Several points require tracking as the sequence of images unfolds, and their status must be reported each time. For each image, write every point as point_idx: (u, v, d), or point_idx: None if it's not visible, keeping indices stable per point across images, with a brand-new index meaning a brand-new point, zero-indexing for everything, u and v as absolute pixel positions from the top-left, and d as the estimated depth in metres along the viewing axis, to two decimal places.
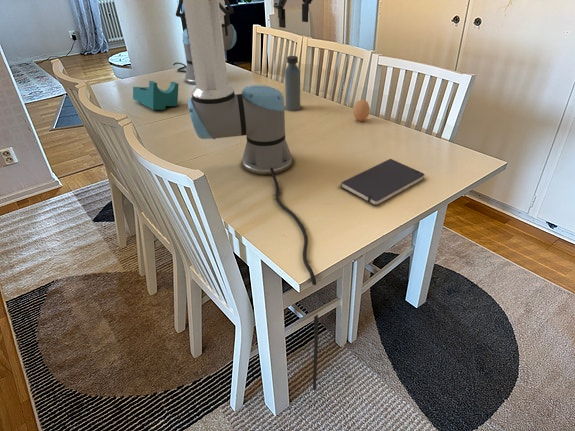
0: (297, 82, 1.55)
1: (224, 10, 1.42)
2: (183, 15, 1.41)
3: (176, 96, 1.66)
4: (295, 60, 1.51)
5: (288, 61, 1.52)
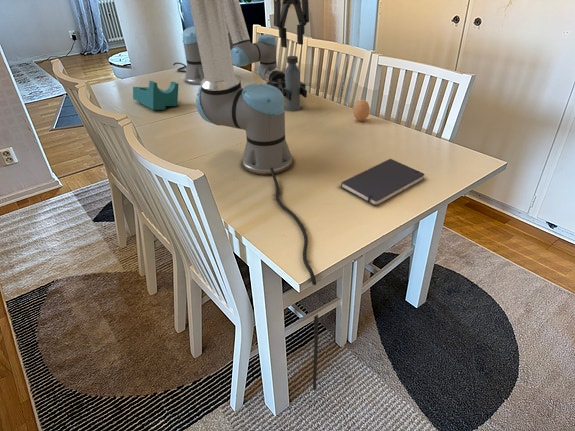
0: (297, 82, 1.55)
1: None
2: None
3: (176, 96, 1.66)
4: (295, 60, 1.51)
5: (288, 61, 1.52)
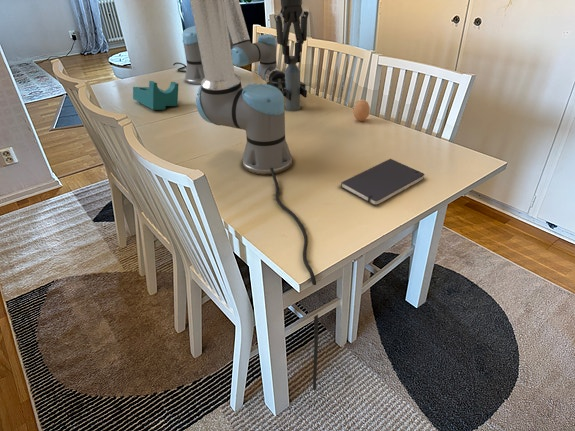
0: (297, 82, 1.55)
1: None
2: None
3: (176, 96, 1.66)
4: (295, 60, 1.51)
5: None
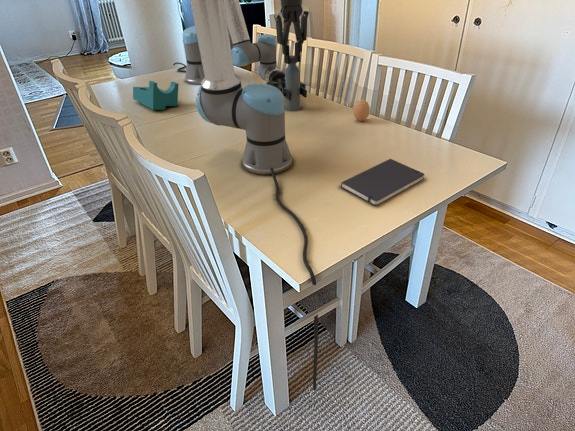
0: (297, 82, 1.55)
1: None
2: None
3: (176, 96, 1.66)
4: None
5: (296, 60, 1.52)
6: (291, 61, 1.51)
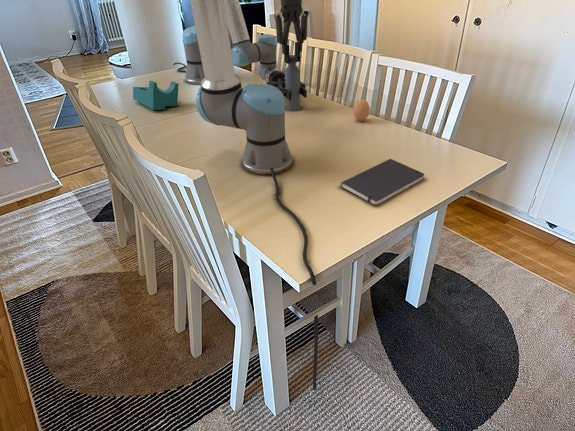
0: (297, 82, 1.55)
1: None
2: None
3: (176, 96, 1.66)
4: None
5: None
6: (297, 59, 1.53)
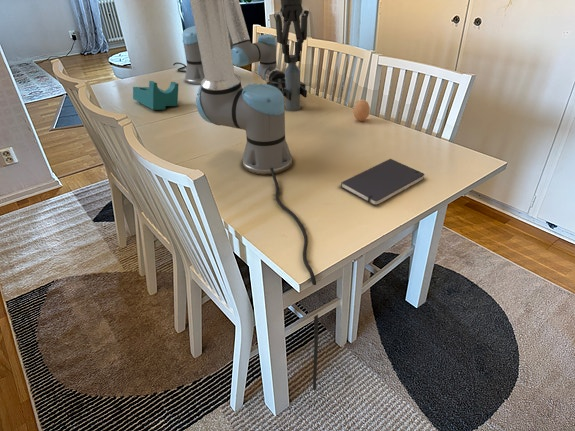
0: (297, 82, 1.55)
1: None
2: None
3: (176, 96, 1.66)
4: (290, 59, 1.51)
5: None
6: None
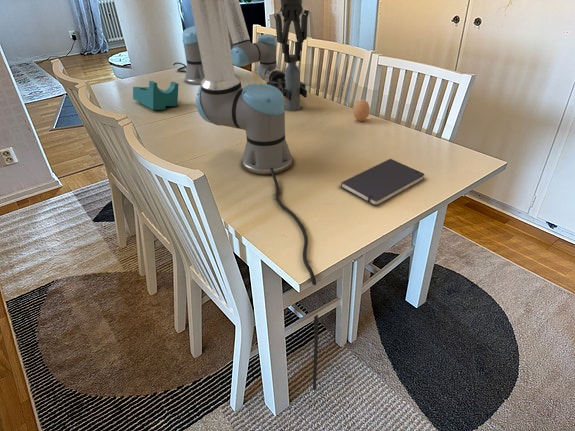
0: (297, 82, 1.55)
1: None
2: None
3: (176, 96, 1.66)
4: (297, 57, 1.52)
5: (292, 60, 1.51)
6: None
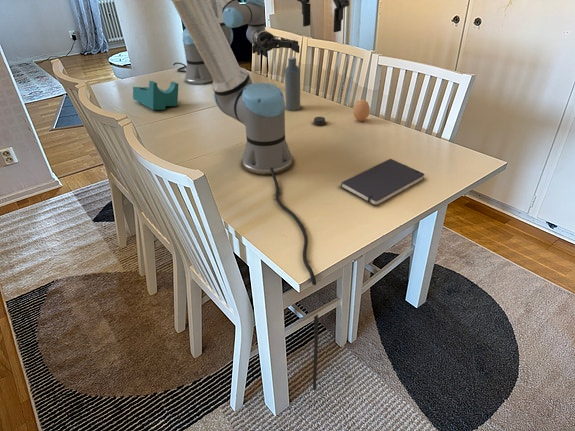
0: (297, 82, 1.55)
1: (336, 1, 1.21)
2: (302, 0, 1.31)
3: (176, 96, 1.66)
4: None
5: None
6: (323, 123, 1.49)
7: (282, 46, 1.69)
